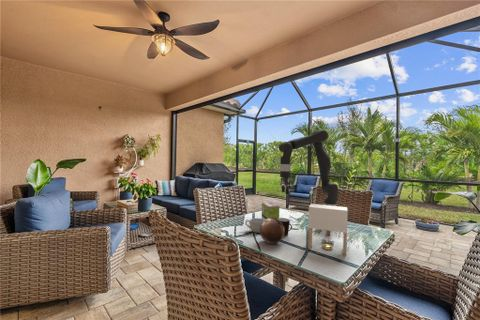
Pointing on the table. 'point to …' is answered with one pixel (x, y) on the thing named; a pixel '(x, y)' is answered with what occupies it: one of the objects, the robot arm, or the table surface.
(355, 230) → the table surface
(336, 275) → the table surface
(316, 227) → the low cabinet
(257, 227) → the teacup
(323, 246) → the brass puck
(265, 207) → the tea box
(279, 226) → the wooden sphere
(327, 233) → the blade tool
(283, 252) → the table surface
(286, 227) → the coffee mug
